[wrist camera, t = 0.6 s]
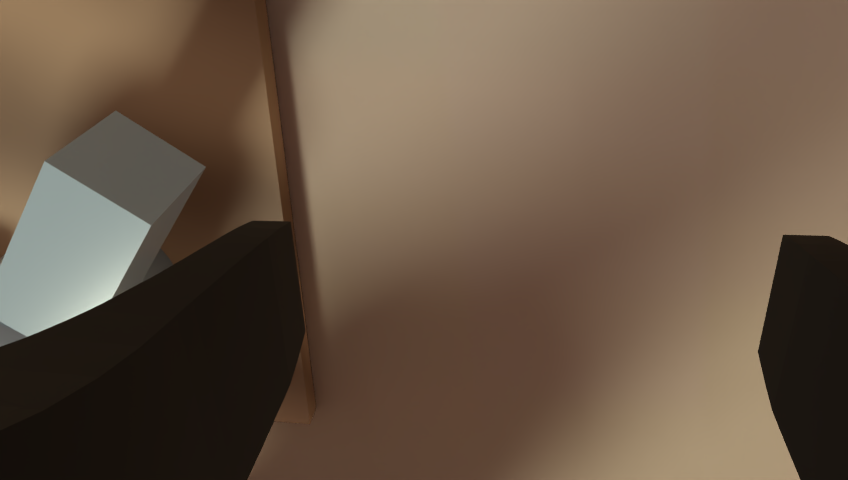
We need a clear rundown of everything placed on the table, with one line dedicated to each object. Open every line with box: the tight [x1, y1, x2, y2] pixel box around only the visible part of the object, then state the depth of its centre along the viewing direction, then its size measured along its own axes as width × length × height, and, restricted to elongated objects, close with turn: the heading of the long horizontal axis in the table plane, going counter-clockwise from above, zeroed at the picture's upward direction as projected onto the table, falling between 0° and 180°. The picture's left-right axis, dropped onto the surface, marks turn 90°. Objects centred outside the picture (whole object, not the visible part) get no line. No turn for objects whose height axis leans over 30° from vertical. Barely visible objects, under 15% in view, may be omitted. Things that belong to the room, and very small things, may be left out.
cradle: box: [0, 0, 316, 424], centre depth 21 cm, size 18×12×3 cm, turn 2°
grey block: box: [0, 111, 206, 347], centre depth 20 cm, size 5×10×5 cm, turn 147°
